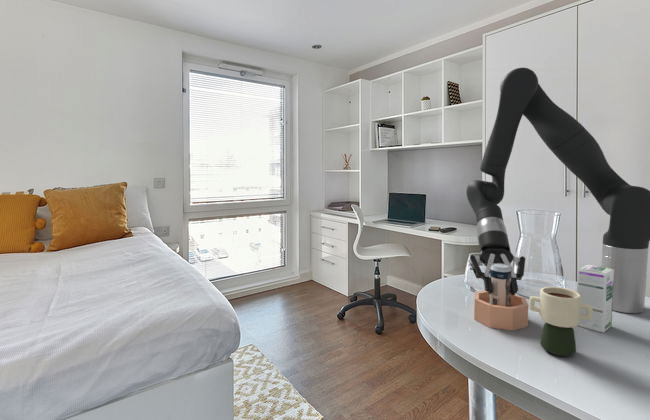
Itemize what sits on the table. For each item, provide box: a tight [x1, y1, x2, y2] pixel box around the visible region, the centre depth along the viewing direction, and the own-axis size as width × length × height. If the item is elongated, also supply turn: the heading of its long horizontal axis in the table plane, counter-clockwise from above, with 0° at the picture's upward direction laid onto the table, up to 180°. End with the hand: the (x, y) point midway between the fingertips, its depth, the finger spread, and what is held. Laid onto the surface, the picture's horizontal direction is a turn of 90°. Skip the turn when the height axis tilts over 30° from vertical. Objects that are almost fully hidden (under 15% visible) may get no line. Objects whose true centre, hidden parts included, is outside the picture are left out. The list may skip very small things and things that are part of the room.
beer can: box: [489, 263, 511, 307], centre depth 87 cm, size 5×5×12 cm
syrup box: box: [576, 264, 614, 334], centre depth 82 cm, size 6×6×14 cm
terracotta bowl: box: [473, 289, 529, 331], centre depth 88 cm, size 12×12×6 cm
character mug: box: [528, 286, 593, 357], centre depth 71 cm, size 11×7×13 cm, turn 57°
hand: (502, 292), depth 85 cm, fingers closed on beer can, 4 cm apart
